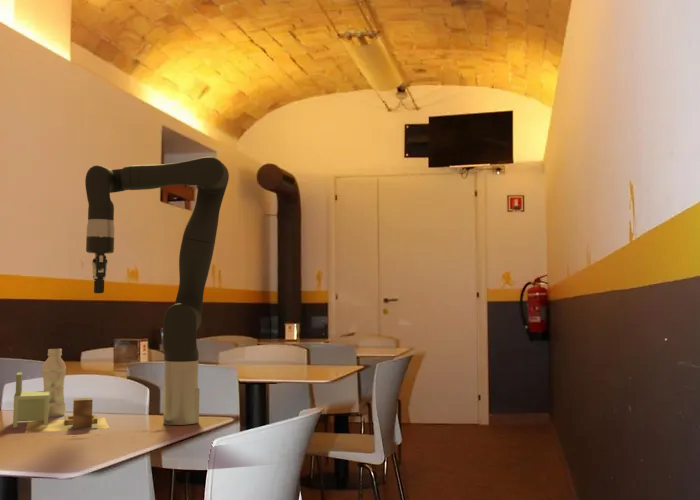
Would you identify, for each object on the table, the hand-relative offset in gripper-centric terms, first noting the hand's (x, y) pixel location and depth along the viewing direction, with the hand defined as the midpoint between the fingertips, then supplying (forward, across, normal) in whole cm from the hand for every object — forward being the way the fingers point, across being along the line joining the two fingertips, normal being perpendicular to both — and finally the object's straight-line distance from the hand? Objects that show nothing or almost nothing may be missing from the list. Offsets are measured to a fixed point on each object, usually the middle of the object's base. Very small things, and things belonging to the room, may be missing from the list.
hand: (98, 293), depth 213 cm
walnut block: (+35, +15, -4) cm, 38 cm away
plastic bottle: (+36, -11, -11) cm, 39 cm away
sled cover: (+35, +5, -16) cm, 39 cm away
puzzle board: (+36, +9, -8) cm, 38 cm away
